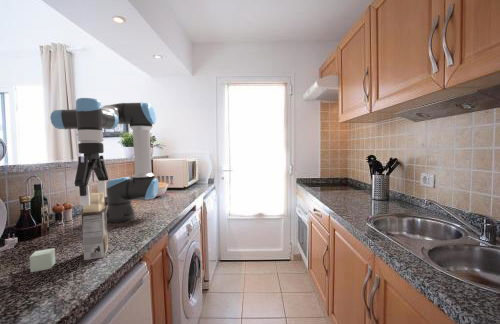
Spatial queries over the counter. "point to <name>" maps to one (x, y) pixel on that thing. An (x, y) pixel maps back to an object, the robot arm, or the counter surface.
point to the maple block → (95, 203)
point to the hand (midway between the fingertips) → (94, 201)
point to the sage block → (42, 260)
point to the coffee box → (95, 234)
